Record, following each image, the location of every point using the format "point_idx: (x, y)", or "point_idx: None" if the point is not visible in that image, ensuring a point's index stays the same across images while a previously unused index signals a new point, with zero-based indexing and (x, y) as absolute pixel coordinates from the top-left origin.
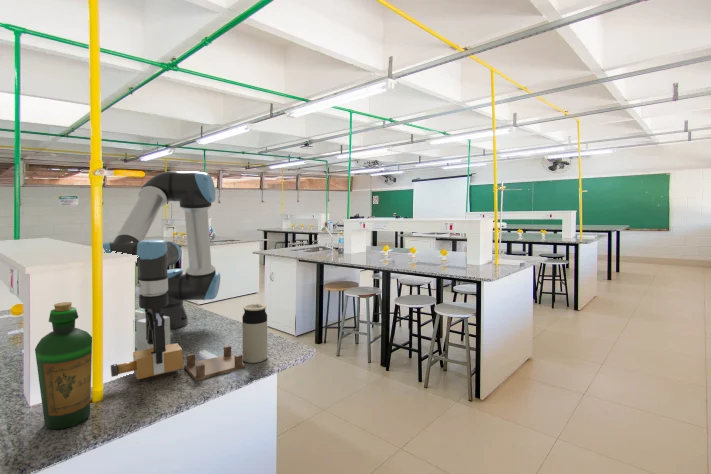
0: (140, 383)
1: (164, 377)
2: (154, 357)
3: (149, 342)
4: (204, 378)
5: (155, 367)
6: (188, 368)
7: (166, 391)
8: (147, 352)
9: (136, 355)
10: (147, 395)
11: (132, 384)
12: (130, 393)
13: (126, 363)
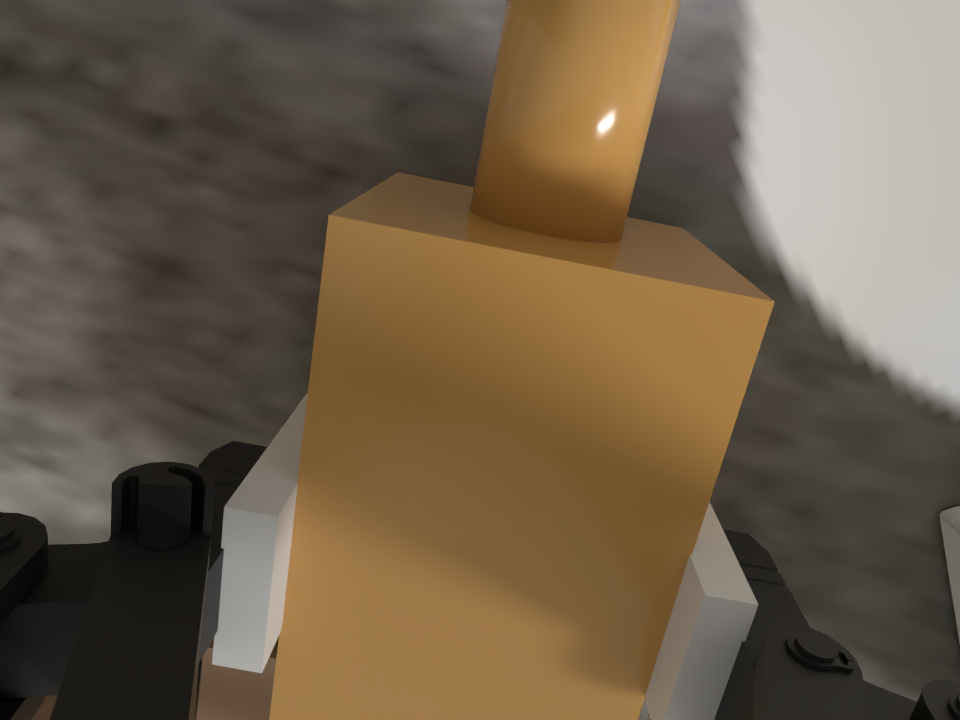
0: None
1: None
2: (252, 477)
3: (759, 665)
4: None
5: None
6: None
7: (36, 325)
8: (522, 477)
9: (529, 280)
10: (63, 146)
11: (481, 129)
12: (244, 20)
13: (565, 84)
